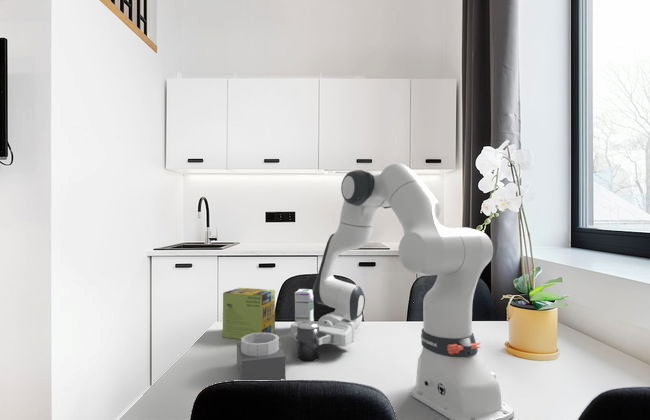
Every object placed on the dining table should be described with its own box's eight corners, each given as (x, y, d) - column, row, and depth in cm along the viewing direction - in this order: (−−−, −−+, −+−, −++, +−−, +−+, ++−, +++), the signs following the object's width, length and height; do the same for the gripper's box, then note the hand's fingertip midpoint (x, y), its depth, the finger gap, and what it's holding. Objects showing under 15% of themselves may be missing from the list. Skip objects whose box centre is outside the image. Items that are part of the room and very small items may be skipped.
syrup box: (310, 332, 136) (310, 292, 136) (294, 331, 137) (294, 291, 137) (314, 328, 142) (314, 289, 142) (298, 327, 143) (298, 288, 143)
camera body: (285, 379, 97) (285, 344, 97) (241, 385, 93) (241, 349, 93) (275, 360, 110) (275, 328, 110) (236, 364, 106) (236, 332, 107)
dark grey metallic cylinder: (321, 360, 110) (321, 325, 110) (300, 362, 108) (300, 327, 108) (315, 352, 116) (315, 319, 116) (294, 355, 114) (295, 321, 114)
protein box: (262, 342, 126) (262, 295, 126) (222, 337, 131) (222, 292, 131) (275, 332, 136) (275, 289, 136) (237, 328, 141) (238, 287, 141)
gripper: (304, 313, 128) (278, 323, 117) (358, 322, 118) (335, 334, 106) (304, 332, 128) (278, 344, 117) (358, 343, 117) (335, 357, 106)
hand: (306, 339), depth 111 cm, fingers closed on dark grey metallic cylinder, 6 cm apart
